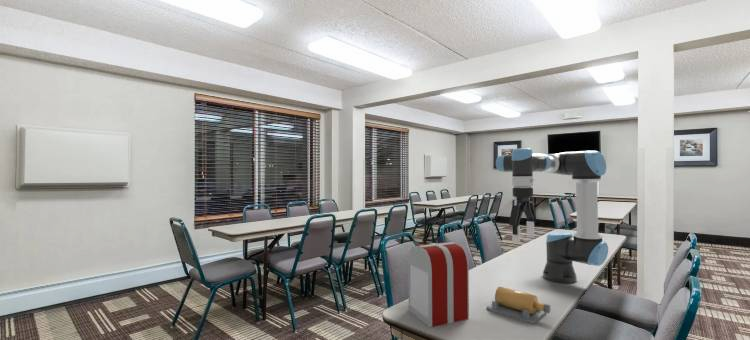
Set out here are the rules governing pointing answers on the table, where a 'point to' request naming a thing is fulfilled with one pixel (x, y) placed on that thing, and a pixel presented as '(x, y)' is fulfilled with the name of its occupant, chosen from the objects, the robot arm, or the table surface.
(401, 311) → the table surface
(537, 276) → the table surface
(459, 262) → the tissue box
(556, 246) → the robot arm
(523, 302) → the amber bottle
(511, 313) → the u rest
